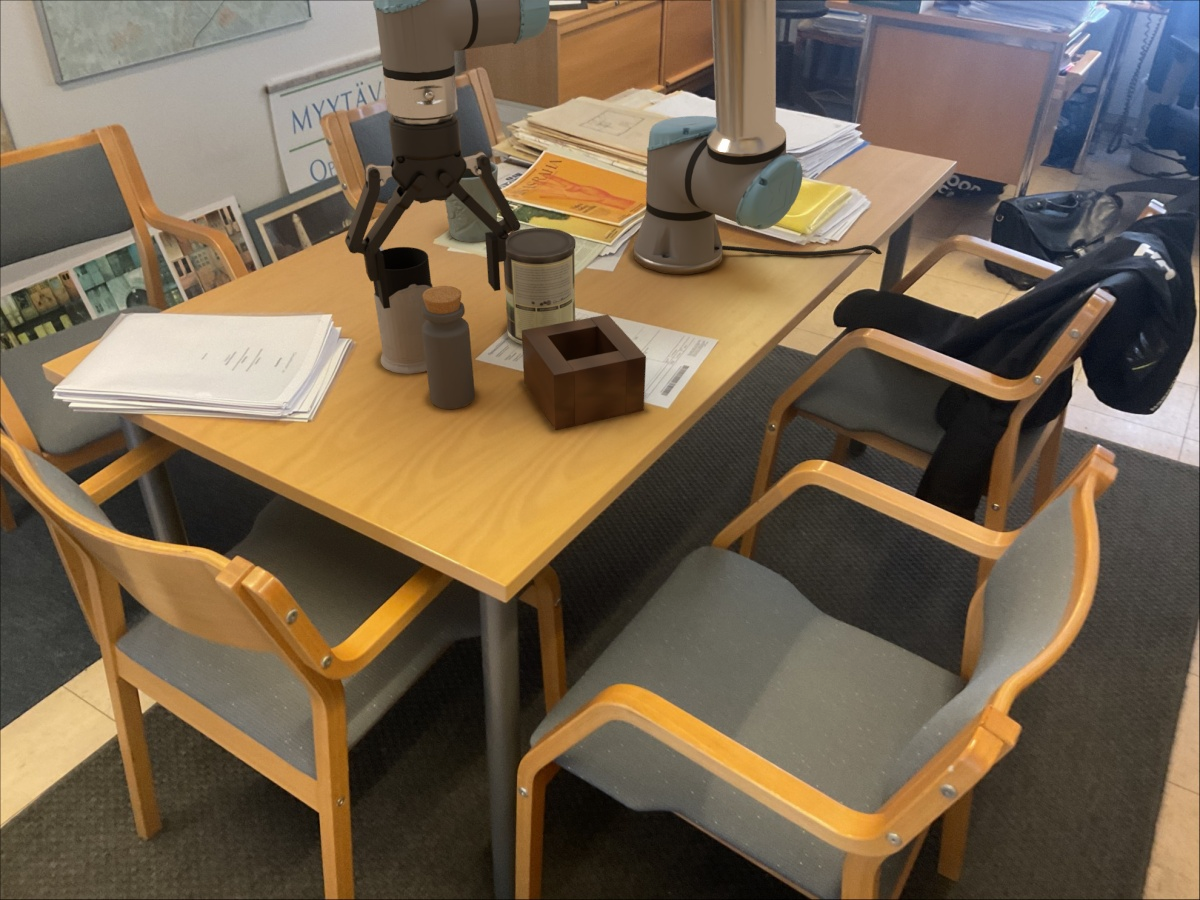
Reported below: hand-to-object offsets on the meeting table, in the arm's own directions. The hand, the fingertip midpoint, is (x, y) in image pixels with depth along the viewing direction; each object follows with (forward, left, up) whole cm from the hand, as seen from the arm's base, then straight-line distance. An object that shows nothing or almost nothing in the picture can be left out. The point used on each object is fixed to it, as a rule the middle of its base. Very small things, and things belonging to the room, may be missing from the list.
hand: (440, 295), depth 109 cm
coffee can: (-17, -13, -15) cm, 26 cm away
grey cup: (-18, -53, -15) cm, 58 cm away
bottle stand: (-16, +6, -15) cm, 23 cm away
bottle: (0, 0, -15) cm, 15 cm away
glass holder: (+3, -15, -15) cm, 21 cm away
